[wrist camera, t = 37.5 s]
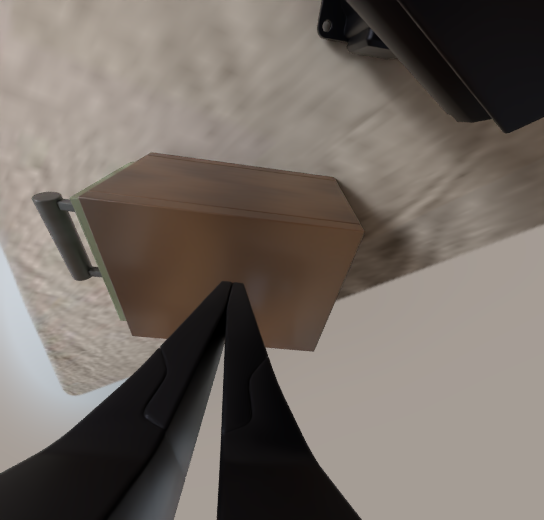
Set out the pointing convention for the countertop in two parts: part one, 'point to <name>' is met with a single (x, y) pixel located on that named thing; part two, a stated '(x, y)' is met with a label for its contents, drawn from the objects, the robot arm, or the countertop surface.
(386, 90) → the countertop surface
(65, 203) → the drawer
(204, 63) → the countertop surface
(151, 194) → the cabinet
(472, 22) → the robot arm
